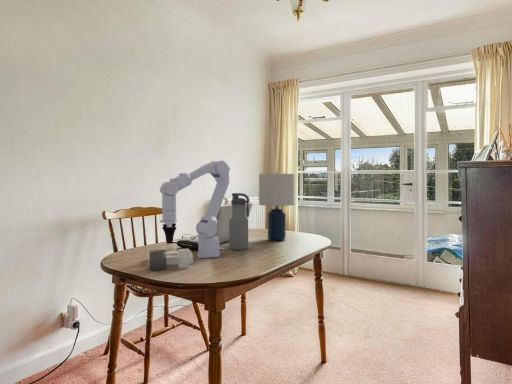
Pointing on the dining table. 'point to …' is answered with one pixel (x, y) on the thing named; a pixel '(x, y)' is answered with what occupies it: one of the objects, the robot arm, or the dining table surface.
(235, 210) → the water bottle
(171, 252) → the bore plate
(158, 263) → the round peg
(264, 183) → the lamp
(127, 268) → the dining table surface
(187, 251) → the square peg
